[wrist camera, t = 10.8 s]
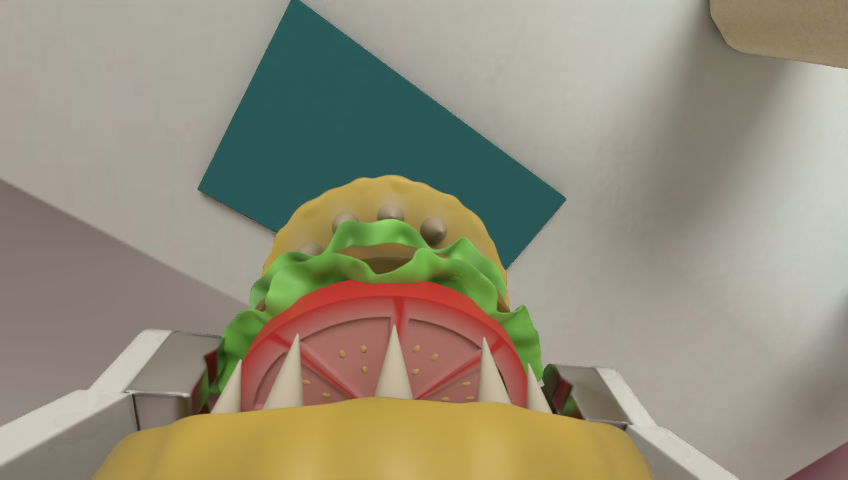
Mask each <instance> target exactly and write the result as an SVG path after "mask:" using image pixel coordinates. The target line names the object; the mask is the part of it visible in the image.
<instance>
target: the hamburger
mask: <svg viewBox="0 0 848 480" xmlns="http://www.w3.org/2000/svg"><path fill="white" fill-rule="evenodd" d="M506 285H507V274H506V271H505V269H504V268H503V266H502V264H501V262H500V259H499V256H498V254H497V251H496V247H495V245H494V243H493V241H492V239H491V238H490V237H489V235H488V233H487V230H486V228H485V226H484V224H483V222H482V221H481V219H480V218H479V217H478V216H477V215H476V214H475V213H473V212H472V211H470V210H469V209H467V208H466V207H464V206H463V205H462V204H461V202H460V201H459V200H458V199H457V198H456V197H454V196H453V195H450V194H445V193H442V192H440V191H437V190H435V189H433V188H432V187H430V186H429V185H427V184H425V183H421V182H414V181H411V180H409V179H407V178H405V177H402V176H398V175H386V176H381V177H377V178H367V177H361V178H358V179H355V180H354V181H352V182H351V183H349V184H347V185H344V186H341V187H339V188H333V189H330V190H328V191H326V192H324V193H323V194H322V195H320V196H319V197H317V198H315V199H313V200H310V201H308V202H306V203H304V204H303V205H301V206H300V207H299V208H298V209H297V210H296V211H295V212H294V214H293V215H292V217H291V218H290V220H289V221H288V223H287V224H286V225H285V226H284V227H283V228H281V229H280V230H279V231H278V233H277V234H276V236H275V240H274V244H273V247H272V249H271V252H270V254H269V256H268V258H267V260H266V262H265V264H264V267H263V272H262V277H261V278H260V279H259V280H258V281H256V282H255V283H254V285H253V286H252V288H251V292H250V309H248V310H244V311H242V312H240V313H239V314H238V315H237V316H236V317H235V319H233V321H231V322H230V323H229V324H228V326H227V327H226V329H225V331H224V333H223V335H222V337H223V338H225V344H224V352H225V354H226V357H227V362H226V364H225V366H224V368H223V370H222V372H221V374H220V376H219V377H218V385H219V389H220V392H221V395H220V397H219V399H218V401H217V402H216V404H215V406H214V408H213V410H212V411H211V413H210V414H200V415H194V416H189V417H185V418H182V419H179V420H177V421H175V422H174V423H172V424H169V425H166V426H161V427H156V428H151V429H145V430H141V431H137V432H134V433H131V434H129V435H127V436H126V437H125V438H123V439H122V440H121V441H120V442H119V443H118V444H117V445H116V447H115V448H114V449H113V450H112V451H111V453H110V454H109V455H108V457H107V458H106V460H105V461H104V463H103V464H102V465H101V467H100V468H99V469H98V470H97V471H96V473H95V474H94V475H93V476H92V478H91V479H90V480H654V477H653V474H652V471H651V469H650V467H649V465H648V463H647V461H646V459H645V458H644V456H643V455H642V453H641V452H640V451H639V450H638V448H637V447H636V446H635V444H634V442H633V441H632V439H631V438H630V437H629V435H628V434H627V433H626V432H624V431H623V430H621V429H619V428H617V427H615V426H613V425H610V424H606V423H601V422H590V421H585V420H580V419H576V418H572V417H567V416H562V415H556V414H552V411H551V409H550V407H549V405H548V403H547V401H546V399H545V396H544V394H543V392H542V390H541V388H540V386H539V384H538V381H539V380H540V379H541V378H542V376H543V367H542V362H541V350H540V342H539V335H538V332H537V331H536V329H535V327H534V325H533V323H532V321H531V318H530V316H529V313H528V310H527V308H526V307H525V306H524V305H522V306H520V307H518V308H517V309H516V310H515V311H514V312H510V310H509V296H508V293H507V289H506Z"/></svg>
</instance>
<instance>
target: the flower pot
mask: <svg viewBox="0 0 848 480" xmlns="http://www.w3.org/2000/svg"><path fill="white" fill-rule="evenodd" d="M710 13H711V17H712V19H713V21H714V22H715V24H716V25H717V27H718V29H719V30H720V32H721V34H722V36H723V38H724V40H725V42H726V43H727V44H728V45H729V46H730V47H732V48H733V49H735V50H737V51H740V52H742V53H746V54H752V55H762V56H768V57H775V58H782V59H789V60H796V61H802V62H808V63H814V64H820V65H826V66H832V67H839V68H845V69H848V0H710Z"/></svg>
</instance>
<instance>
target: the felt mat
mask: <svg viewBox="0 0 848 480" xmlns="http://www.w3.org/2000/svg"><path fill="white" fill-rule="evenodd" d="M386 175H398V176H402V177H405V178H407V179H409V180H411V181H414V182H421V183H425V184H427V185H429V186H430V187H432V188H433V189H435V190H437V191H440V192H442V193H445V194H450V195H453V196H454V197H456V198H457V199H458V200H459V201H460V202H461V204H462V205H463V206H464V207H466V208H467V209H469V210H470V211H472V212H473V213H475V214H476V215H477V216H478V217H479V218H480V219H481V221H482V222H483V224H484V226H485V228H486V230H487V233H488V235H489V237H490V238H491V239H492V241H493V243H494V245H495V247H496V251H497V254H498V256H499V259H500V262H501V264H502V266H503V268H504V269H505V270H506V269H507V268H508V267H509V266H510V265H511V263H512V262H513V261H514V260H515V259H516V258H517V256H518V255H519V254H520V253H521V252H522V251H523V249H524V248H525V247H526V246H527V245H528V244H529V243H530V241H531V240H532V239H533V238H534V237H535V236H536V234H537V233H538V232H539V231H540V230H541V229H542V227H543V226H544V225H545V224H546V223H547V222H548V220H549V219H550V218H551V217H552V216H553V215H554V213H555V212H556V211H557V210H558V209H559V208H560V206H561V205H562V204H563V203H564V202H565V201H566V198H565V197H564V196H562V195H561V194H560V193H558V192H557V191H556V190H554V189H553V188H552V187H550V186H549V185H548V184H546V183H545V182H543V181H542V180H541V179H539V178H538V177H537V176H535V175H534V174H533V173H531V172H530V171H529V170H527V169H526V168H525V167H523V166H522V165H521V164H519V163H518V162H516V161H515V160H514V159H512V158H511V157H510V156H508V155H507V154H506V153H504V152H503V151H502V150H500V149H499V148H498V147H496V146H495V145H494V144H492V143H491V142H490V141H488V140H487V139H485V138H484V137H483V136H481V135H480V134H479V133H477V132H476V131H475V130H473V129H472V128H471V127H469V126H468V125H467V124H465V123H464V122H463V121H461V120H460V119H459V118H457V117H456V116H454V115H453V114H452V113H450V112H449V111H448V110H446V109H445V108H444V107H442V106H441V105H440V104H438V103H437V102H436V101H434V100H433V99H432V98H430V97H429V96H427V95H426V94H425V93H423V92H422V91H421V90H419V89H418V88H417V87H415V86H414V85H413V84H411V83H410V82H409V81H407V80H406V79H405V78H403V77H402V76H401V75H399V74H398V73H396V72H395V71H394V70H392V69H391V68H390V67H388V66H387V65H386V64H384V63H383V62H382V61H380V60H379V59H378V58H376V57H375V56H374V55H372V54H371V53H370V52H368V51H367V50H365V49H364V48H363V47H361V46H360V45H359V44H357V43H356V42H355V41H353V40H352V39H351V38H349V37H348V36H347V35H345V34H344V33H343V32H341V31H340V30H338V29H337V28H336V27H334V26H333V25H332V24H330V23H329V22H328V21H326V20H325V19H324V18H322V17H321V16H320V15H318V14H317V13H316V12H314V11H313V10H312V9H310V8H309V7H307V6H306V5H305V4H303V3H302V2H301V1H299V0H291V1H290V3H289V5H288V7H287V10H286V12H285V14H284V16H283V18H282V20H281V22H280V24H279V26H278V28H277V30H276V32H275V34H274V36H273V38H272V40H271V42H270V44H269V46H268V48H267V50H266V52H265V54H264V56H263V58H262V60H261V62H260V64H259V66H258V68H257V70H256V72H255V74H254V76H253V78H252V80H251V82H250V84H249V86H248V88H247V90H246V92H245V94H244V96H243V98H242V100H241V102H240V104H239V106H238V108H237V110H236V112H235V114H234V116H233V118H232V120H231V122H230V124H229V127H228V129H227V131H226V133H225V135H224V137H223V139H222V141H221V143H220V145H219V147H218V149H217V151H216V153H215V155H214V157H213V159H212V161H211V163H210V165H209V167H208V169H207V171H206V173H205V175H204V177H203V179H202V181H201V183H200V185H199V187H198V190H199V191H201V192H203V193H205V194H206V195H208V196H210V197H212V198H214V199H216V200H218V201H219V202H221V203H223V204H225V205H227V206H229V207H231V208H232V209H234V210H236V211H238V212H240V213H242V214H244V215H245V216H247V217H249V218H251V219H253V220H255V221H257V222H258V223H260V224H262V225H264V226H266V227H268V228H270V229H271V230H273V231H275V232H277V233H278V231H279V230H280V229H281V228H283V227H284V226H285V225H286V224H287V223H288V221H289V220H290V218H291V217H292V215H293V214H294V212H295V211H296V210H297V209H298V208H299V207H300V206H301V205H303V204H304V203H306V202H308V201H310V200H313V199H315V198H317V197H319V196H320V195H322V194H323V193H324V192H326V191H328V190H330V189H333V188H339V187H341V186H344V185H347V184H349V183H351V182H352V181H354V180H355V179H358V178H361V177H367V178H377V177H381V176H386Z"/></svg>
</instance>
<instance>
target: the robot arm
mask: <svg viewBox="0 0 848 480" xmlns="http://www.w3.org/2000/svg"><path fill="white" fill-rule="evenodd" d="M224 344H225V338H223V337H222V336H219V335H210V334H201V333H191V332H182V331H169V330H159V329H150V328H149V329H146V330H144V331H142V332H141V333H139V334H138V336H137V337H136V338H135V339H134V340H133V341H132V342H131V343H130V344H129V345H128V347H127V348H126V349H125V350H124V351H123V352H122V353H121V354H120V355H119V356H118V357H117V358H116V359H115V361H114V362H113V363H112V364H111V365H110V366H109V367H108V368H107V369H106V370H105V372H104V373H103V374H102V375H101V376H100V377H99V378H98V379H97V380H96V381H95V383H94V384H92V386H91V387H90V388H89V389H88V390H76V391H74V392H72V393H70V394H68V395H66V396H64V397H62V398H59V399H58V400H55V401H53V402H51V403H49V404H47V405H45V406H43V407H41V408H39V409H36V410H34V411H32V412H30V413H28V414H26V415H24V416H22V417H20V418H18V419H15V420H13V421H11V422H9V423H7V424H5V425H3V426H1V427H0V480H90V479H91V478H92V476H93V475H94V474H95V473H96V471H97V470H98V469H99V468H100V467H101V465H102V464H103V463H104V461H105V460H106V458H107V457H108V455H109V454H110V453H111V451H112V450H113V449H114V448H115V447H116V445H117V444H118V443H119V442H120V441H121V440H122V439H123V438H125V437H126V436H127V435H129V434H131V433H134V432H137V431H141V430H145V429H151V428H156V427H161V426H166V425H169V424H172V423H174V422H175V421H177V420H179V419H182V418H185V417H189V416H194V415H200V414H210V413H211V411H212V410H213V408H214V406H215V404H216V402H217V401H218V399H219V397H220V395H221V392H220V389H219V385H218V377H219V376H220V374H221V372H222V370H223V368H224V366H225V364H226V362H227V357H226V354H225V352H224ZM542 380H543V382H544V386H543V387H541V390H542V392H543V394H544V396H545V399H546V401H547V403H548V405H549V407H550V409H551V411H552V414H556V415H562V416H567V417H572V418H576V419H580V420H585V421H590V422H601V423H606V424H610V425H613V426H615V427H617V428H619V429H621V430H623V431H624V432H626V433H627V434H628V435H629V437H630V438H631V439H632V441H633V442H634V444H635V446H636V447H637V448H638V450H639V451H640V452H641V453H642V455H643V456H644V458H645V459H646V461H647V463H648V465H649V467H650V469H651V471H652V474H653V477H654V480H740V479H739V478H737V477H736V476H734V475H733V474H731V473H730V472H728V471H727V470H726V469H724V468H723V467H721V466H720V465H718V464H717V463H715V462H714V461H713V460H711V459H710V458H708V457H707V456H705V455H704V454H702V453H701V452H700V451H698V450H697V449H695V448H694V447H692V446H691V445H689V444H688V443H687V442H685V441H684V440H682V439H681V438H679V437H678V436H677V435H675V434H674V433H672V432H671V431H669V430H668V429H666V428H665V427H658V426H657V425H656V423H655V422H654V421H653V419H652V418H651V417H650V415H649V414H648V413H647V411H646V410H645V408H644V407H643V406H642V404H641V403H640V402H639V400H638V399H637V398H636V396H635V395H634V393H633V392H632V391H631V389H630V388H629V387H628V385H627V384H626V383H625V381H624V380H623V378H622V377H621V376H620V374H619V373H618V372H617V371H616V370H614V369H613V368H605V367H583V366H570V365H557V364H548V365H547V367H546V368H545V369H544V371H543V376H542Z"/></svg>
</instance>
